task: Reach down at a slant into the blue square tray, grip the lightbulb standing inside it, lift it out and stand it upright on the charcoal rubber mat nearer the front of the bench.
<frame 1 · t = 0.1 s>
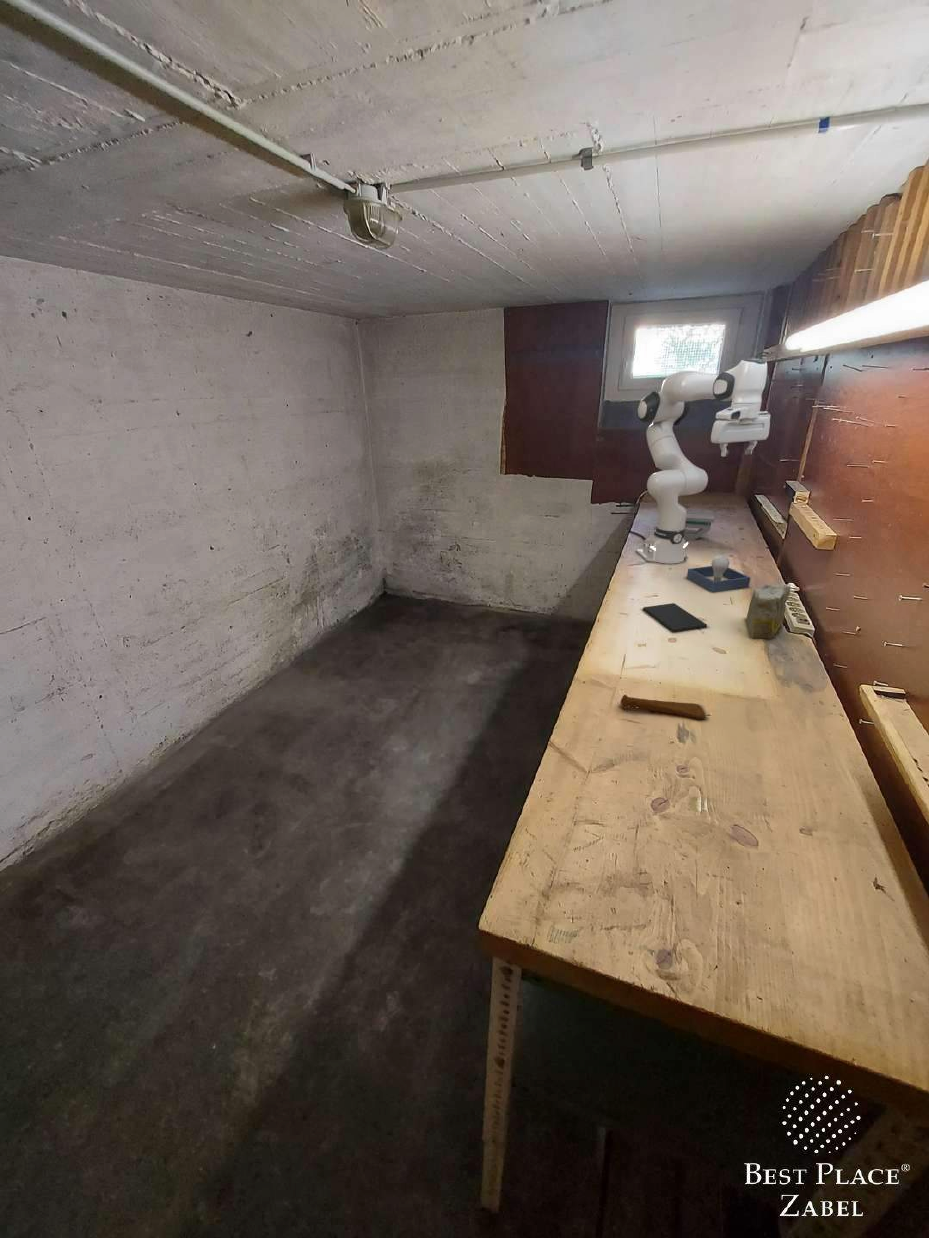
hand: (736, 455, 168), 48 cm above the table, tool pointing down, fingers open, 8 cm apart
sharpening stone: (683, 537, 245), on the table
primitive tool: (662, 710, 119), on the table
blue square tray: (716, 582, 189), on the table
lightbulb: (716, 583, 189), resting in blue square tray
mat: (673, 618, 163), on the table
stone block: (765, 630, 153), on the table
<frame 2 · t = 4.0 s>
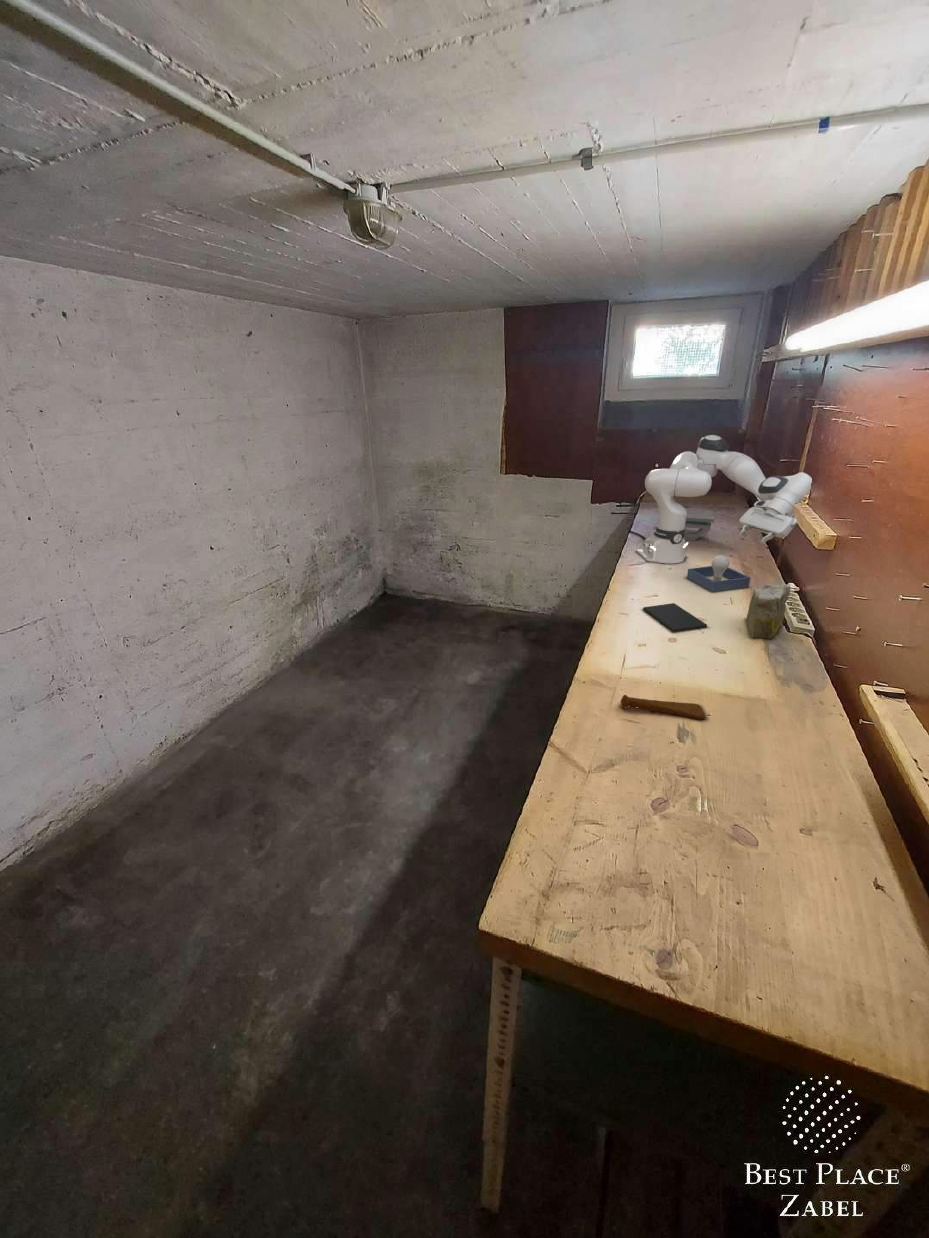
hand: (750, 539, 185), 16 cm above the table, tool tilted 45°, fingers open, 8 cm apart
nothing on the table moved.
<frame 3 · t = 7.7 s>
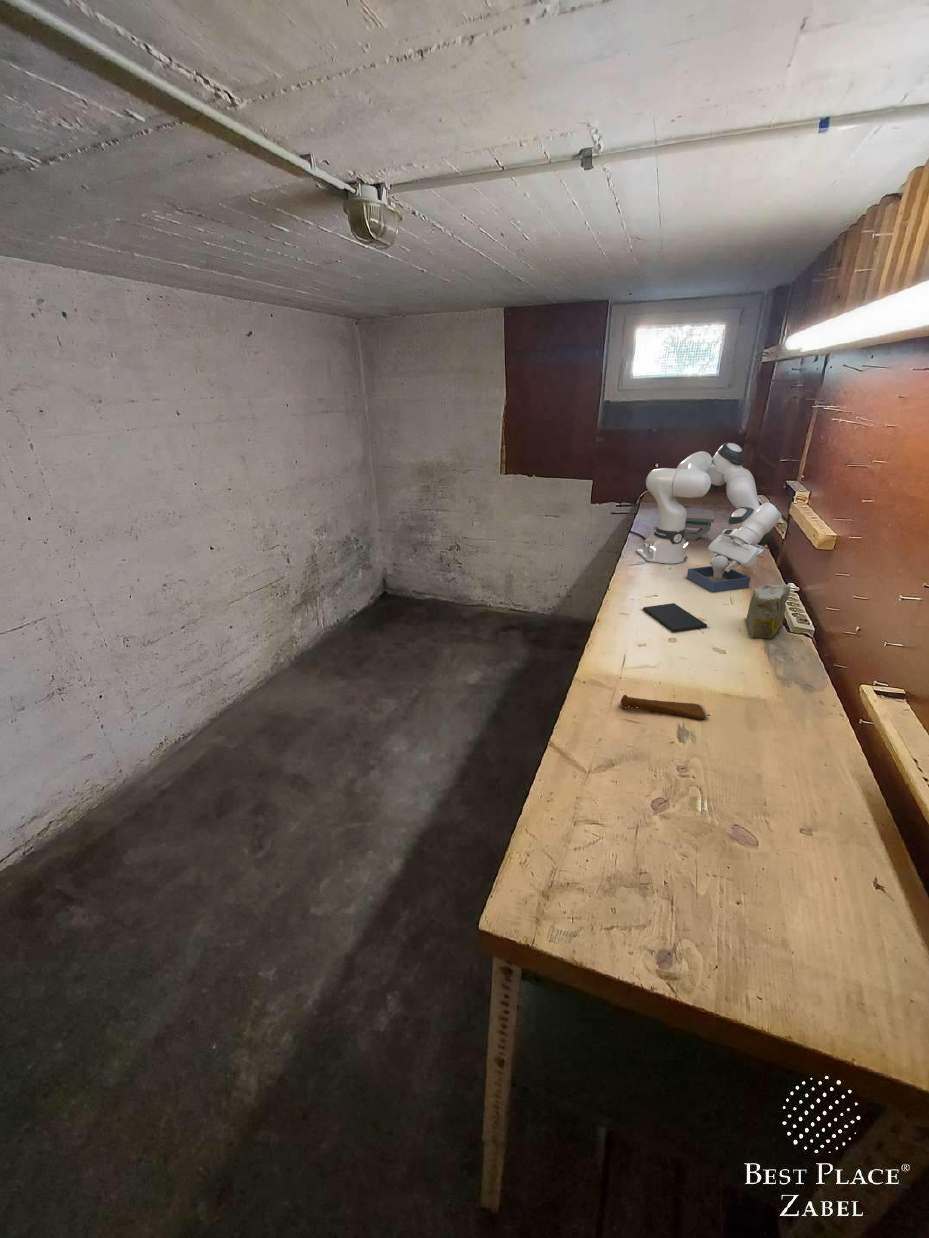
hand: (718, 567, 186), 6 cm above the table, tool tilted 45°, fingers closed on lightbulb, 6 cm apart
lightbulb: (716, 583, 189), resting in blue square tray, touching gripper
everything else where it was.
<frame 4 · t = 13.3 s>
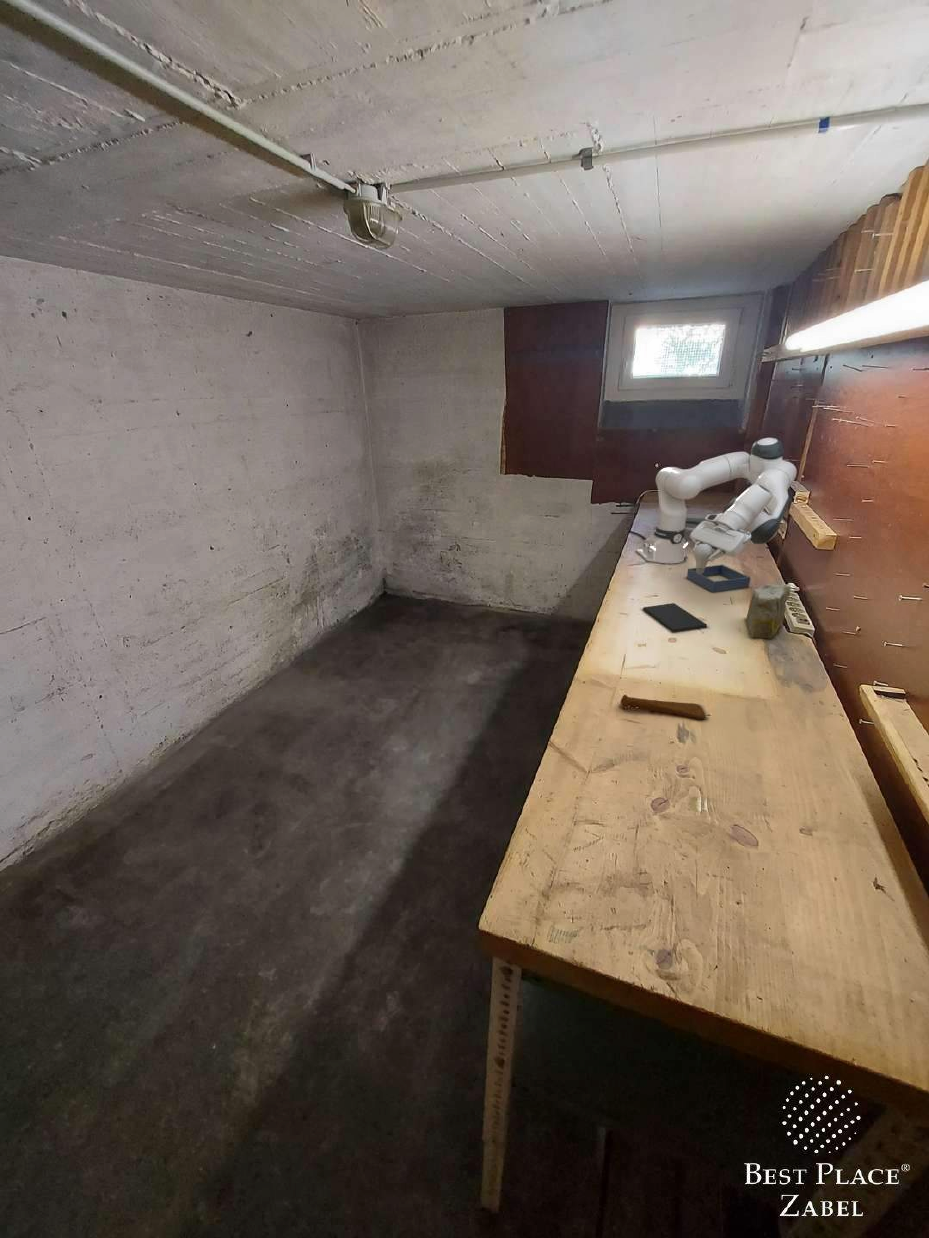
hand: (700, 557, 166), 17 cm above the table, tool tilted 45°, fingers closed on lightbulb, 6 cm apart
lightbulb: (699, 574, 169), point 11 cm above the table, touching gripper
everything else where it was.
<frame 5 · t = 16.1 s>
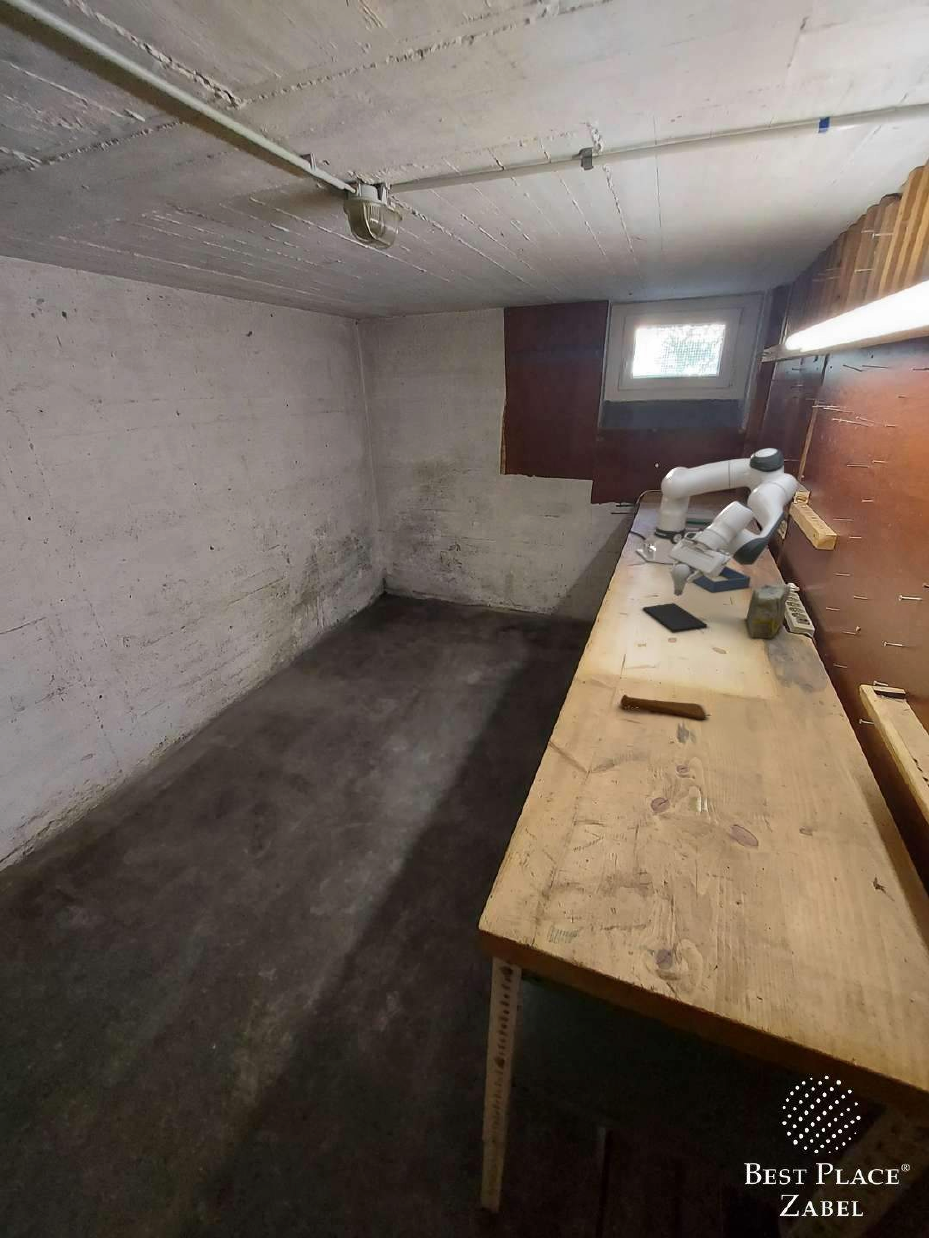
hand: (678, 577, 157), 15 cm above the table, tool tilted 45°, fingers closed on lightbulb, 6 cm apart
lightbulb: (677, 596, 160), point 8 cm above the table, touching gripper
everything else where it was.
when the fingers open (7 cm above the table, at t = 18.7 s): lightbulb stays where it is, resting on mat.
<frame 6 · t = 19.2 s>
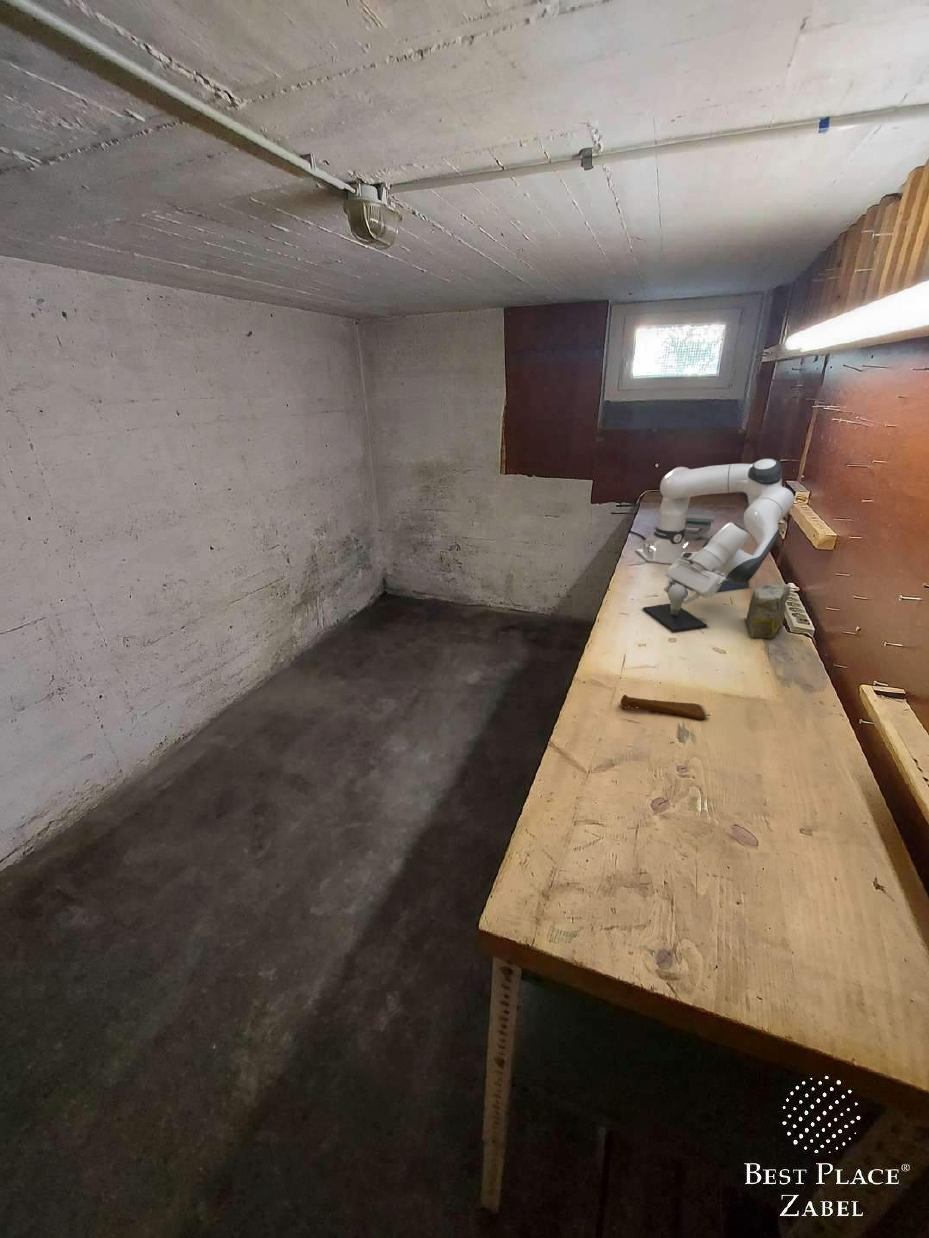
hand: (674, 596, 160), 8 cm above the table, tool tilted 45°, fingers open, 8 cm apart
lightbulb: (674, 616, 163), point 1 cm above the table, touching mat
everything else where it was.
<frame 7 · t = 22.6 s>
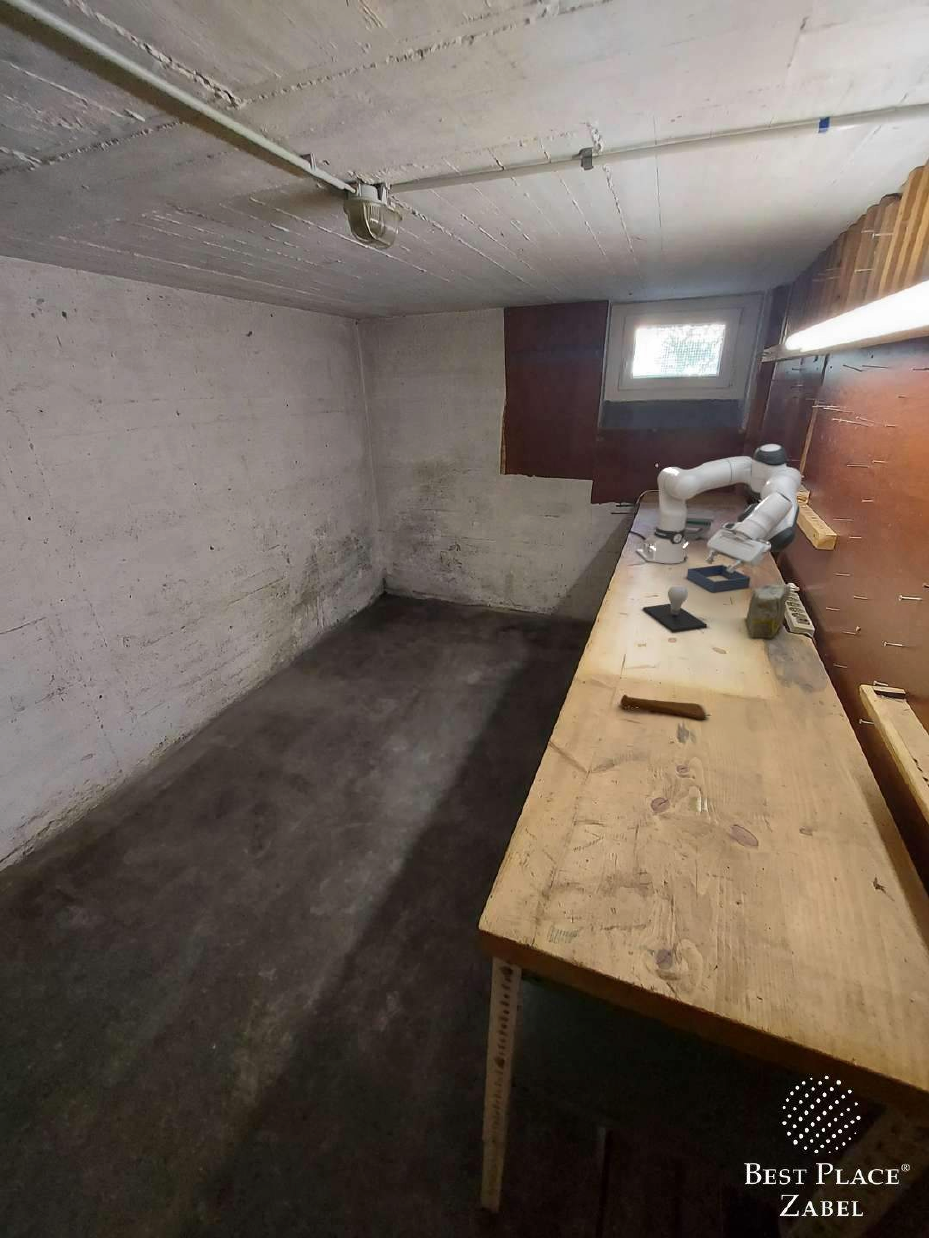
hand: (717, 566, 162), 16 cm above the table, tool tilted 45°, fingers open, 8 cm apart
nothing on the table moved.
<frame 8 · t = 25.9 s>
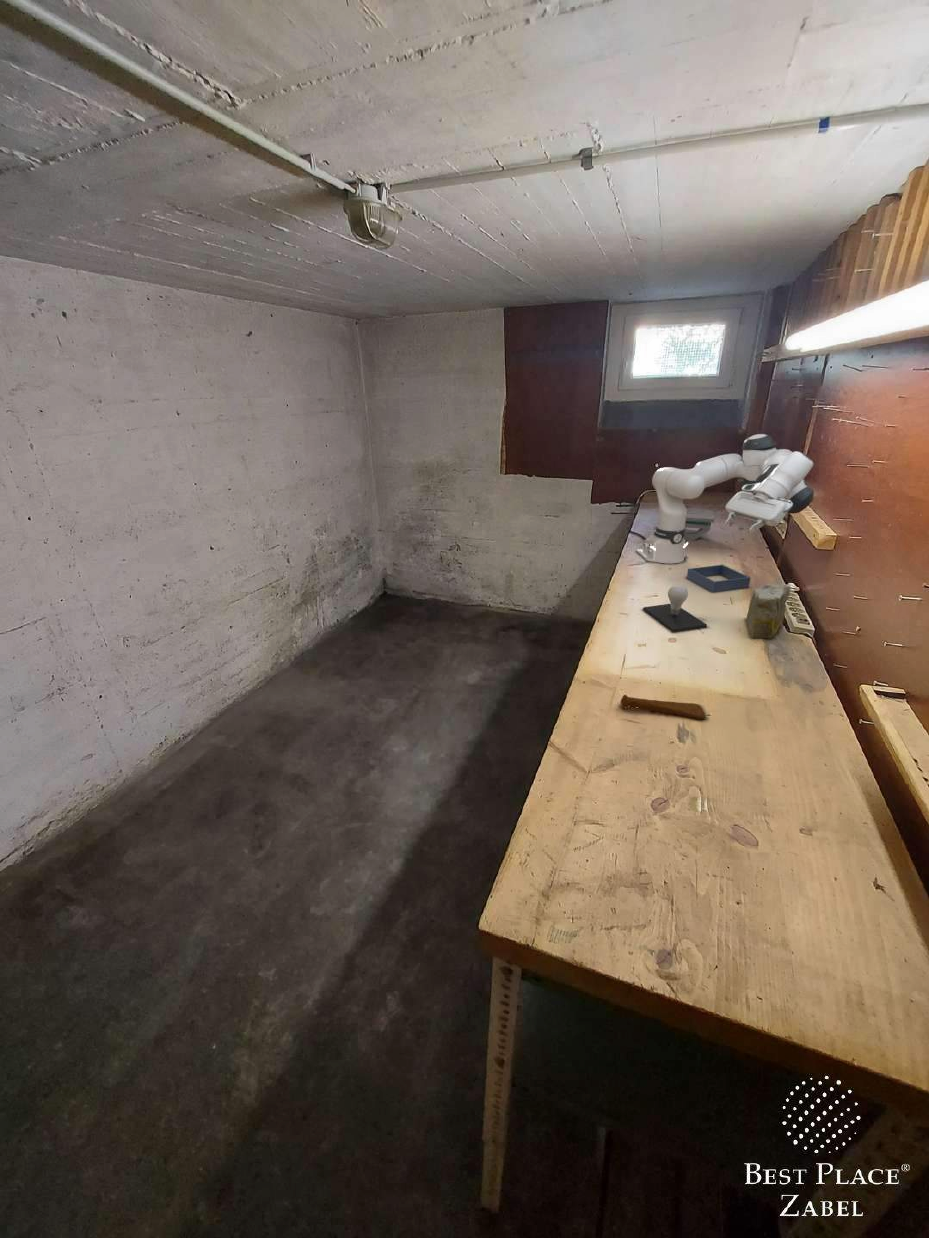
hand: (737, 528, 160), 27 cm above the table, tool tilted 45°, fingers open, 8 cm apart
nothing on the table moved.
at the end: lightbulb inside the target area on the mat (0.2 cm from its centre), point 0.8 cm above the mat's base; lightbulb tilted 0°; the gripper is holding nothing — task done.
